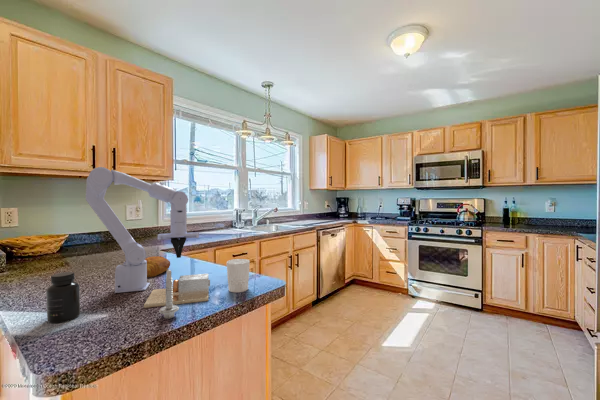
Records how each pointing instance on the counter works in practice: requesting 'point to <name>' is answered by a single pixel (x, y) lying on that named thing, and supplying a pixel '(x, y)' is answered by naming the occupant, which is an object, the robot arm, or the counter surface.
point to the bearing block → (182, 291)
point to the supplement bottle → (63, 298)
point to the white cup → (238, 275)
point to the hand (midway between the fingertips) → (178, 257)
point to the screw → (169, 298)
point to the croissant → (156, 265)
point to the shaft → (176, 286)
